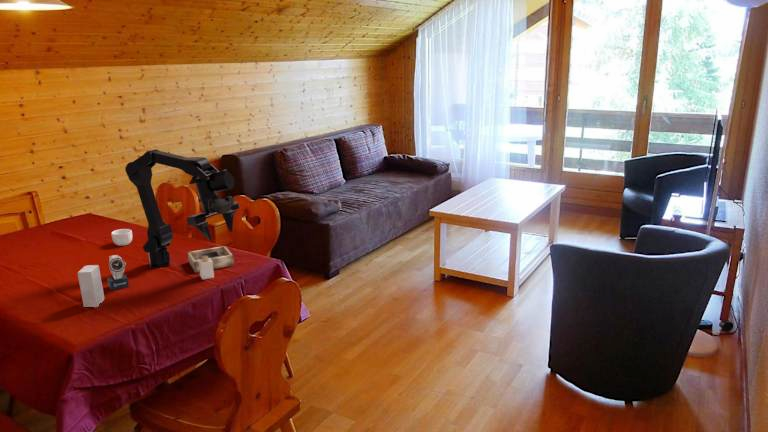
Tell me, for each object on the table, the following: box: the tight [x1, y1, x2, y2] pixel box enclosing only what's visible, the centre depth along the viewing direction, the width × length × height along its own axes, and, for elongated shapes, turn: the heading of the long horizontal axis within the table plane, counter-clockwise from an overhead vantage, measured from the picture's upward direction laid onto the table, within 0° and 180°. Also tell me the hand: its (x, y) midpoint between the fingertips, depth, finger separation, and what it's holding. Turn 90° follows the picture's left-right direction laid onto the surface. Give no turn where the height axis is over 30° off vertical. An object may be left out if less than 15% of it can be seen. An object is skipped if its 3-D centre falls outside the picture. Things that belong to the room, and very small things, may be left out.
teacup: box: [111, 228, 133, 247], centre depth 234 cm, size 10×8×5 cm
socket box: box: [187, 245, 235, 273], centre depth 210 cm, size 14×12×4 cm
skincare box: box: [77, 264, 105, 308], centre depth 176 cm, size 6×4×12 cm
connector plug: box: [198, 256, 215, 280], centre depth 198 cm, size 4×4×8 cm
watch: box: [106, 254, 130, 291], centre depth 189 cm, size 6×8×11 cm
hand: (221, 236), depth 199 cm, fingers open, 9 cm apart
